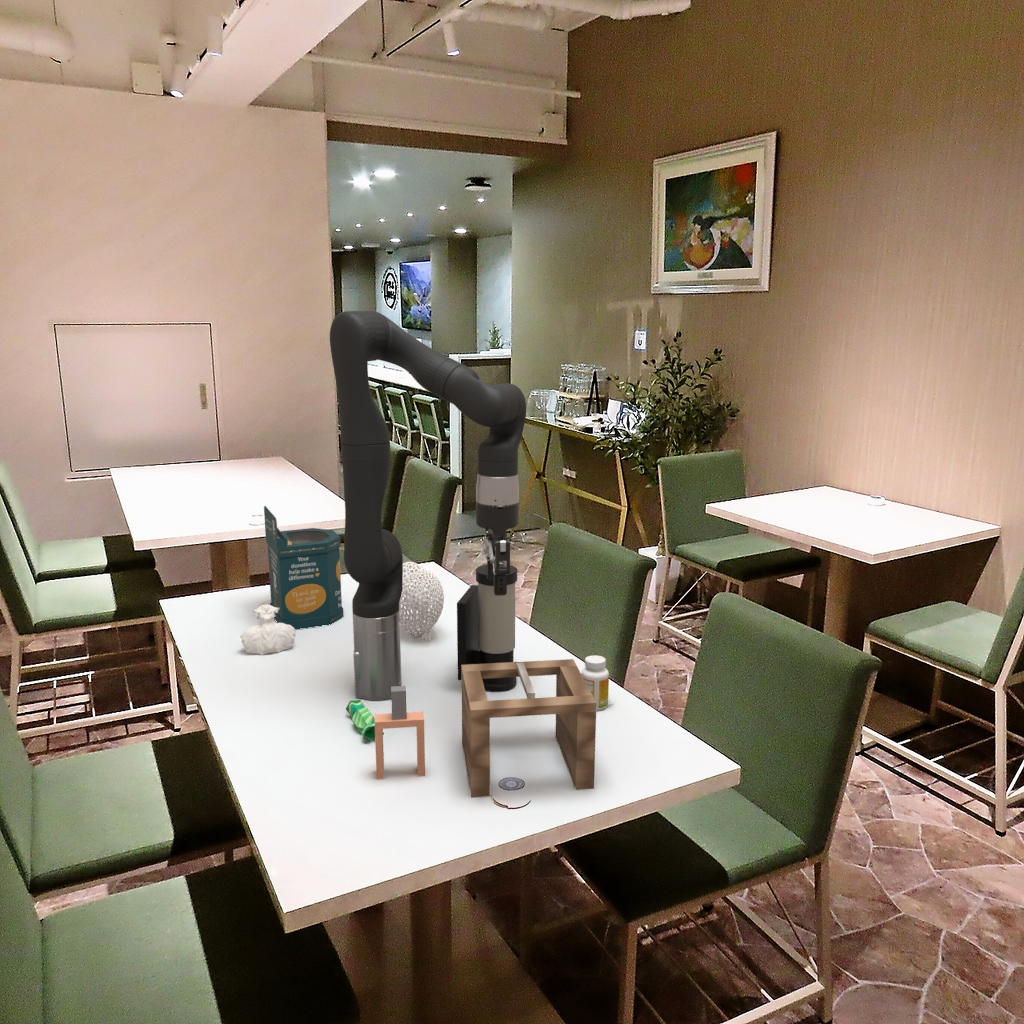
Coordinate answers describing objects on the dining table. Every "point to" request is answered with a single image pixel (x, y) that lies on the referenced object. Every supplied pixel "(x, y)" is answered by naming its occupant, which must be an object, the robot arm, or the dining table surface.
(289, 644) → the bust
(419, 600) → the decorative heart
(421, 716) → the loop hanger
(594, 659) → the supplement bottle
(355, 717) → the candy
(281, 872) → the dining table surface
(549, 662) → the wooden frame stand
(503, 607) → the light fixture
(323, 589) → the donation box
